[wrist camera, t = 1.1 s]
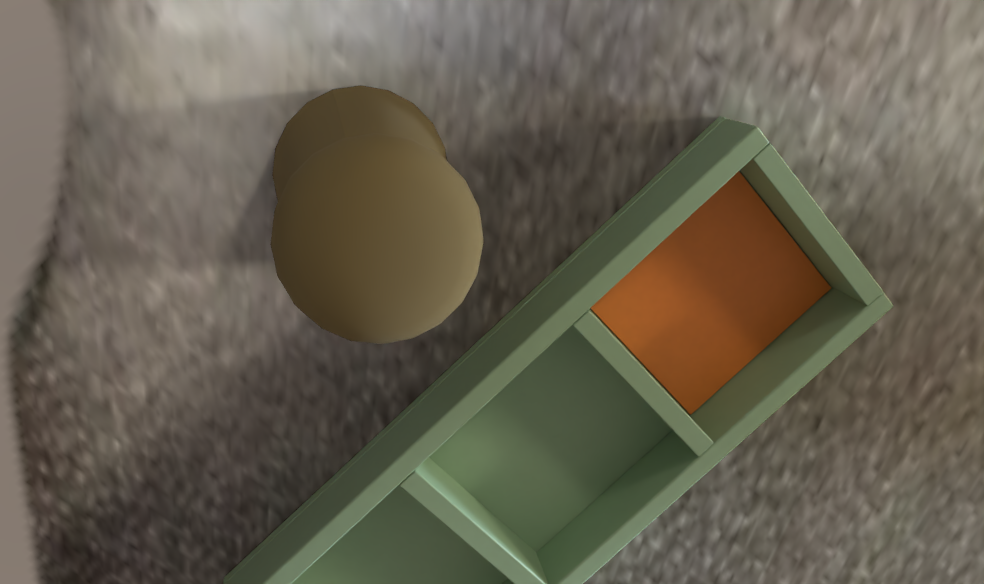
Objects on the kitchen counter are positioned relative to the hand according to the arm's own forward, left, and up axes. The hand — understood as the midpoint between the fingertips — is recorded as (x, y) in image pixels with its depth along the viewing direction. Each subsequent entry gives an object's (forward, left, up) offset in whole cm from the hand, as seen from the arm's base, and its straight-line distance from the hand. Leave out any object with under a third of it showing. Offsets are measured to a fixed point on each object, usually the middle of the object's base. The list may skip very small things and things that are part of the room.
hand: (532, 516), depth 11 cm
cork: (-1, -1, -22) cm, 22 cm away
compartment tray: (+11, -3, -22) cm, 24 cm away
